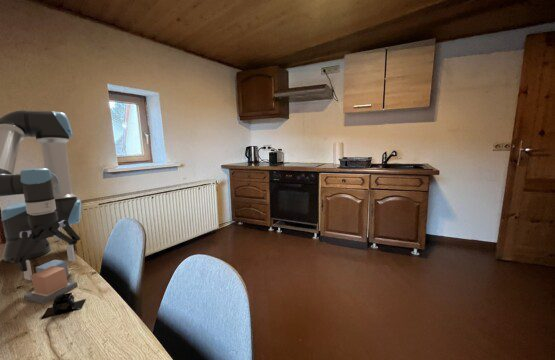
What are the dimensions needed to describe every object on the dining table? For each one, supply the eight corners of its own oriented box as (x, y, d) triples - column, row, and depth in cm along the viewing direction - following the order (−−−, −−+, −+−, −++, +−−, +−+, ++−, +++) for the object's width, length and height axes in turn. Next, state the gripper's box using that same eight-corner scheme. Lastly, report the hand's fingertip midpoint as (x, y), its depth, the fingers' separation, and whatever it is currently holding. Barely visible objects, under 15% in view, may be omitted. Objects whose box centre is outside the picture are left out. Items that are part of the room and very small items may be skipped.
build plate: (32, 324, 68) (29, 310, 67) (43, 309, 75) (40, 295, 74) (87, 311, 73) (85, 297, 73) (93, 297, 80) (91, 284, 79)
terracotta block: (55, 281, 85) (52, 265, 85) (67, 284, 84) (65, 268, 83) (34, 292, 80) (31, 275, 79) (47, 294, 78) (44, 277, 77)
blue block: (57, 274, 94) (54, 259, 93) (68, 276, 92) (66, 261, 91) (38, 282, 88) (35, 267, 87) (50, 285, 86) (47, 269, 85)
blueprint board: (58, 282, 88) (58, 278, 88) (77, 285, 86) (76, 281, 85) (24, 299, 78) (23, 295, 78) (43, 303, 76) (43, 299, 76)
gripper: (1, 224, 73) (14, 290, 76) (86, 204, 97) (93, 255, 100) (-15, 222, 75) (-2, 286, 78) (72, 203, 99) (79, 253, 102)
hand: (52, 269), depth 89 cm, fingers open, 13 cm apart
